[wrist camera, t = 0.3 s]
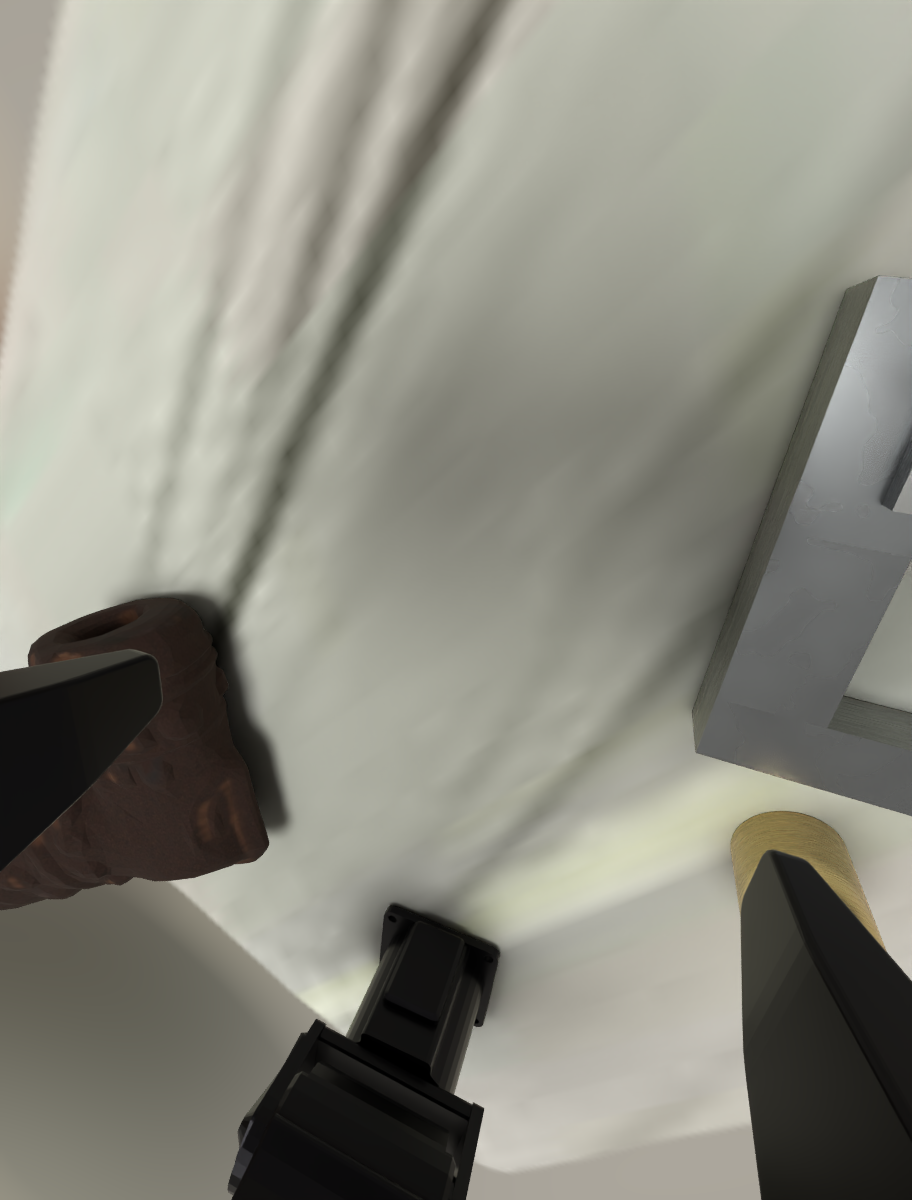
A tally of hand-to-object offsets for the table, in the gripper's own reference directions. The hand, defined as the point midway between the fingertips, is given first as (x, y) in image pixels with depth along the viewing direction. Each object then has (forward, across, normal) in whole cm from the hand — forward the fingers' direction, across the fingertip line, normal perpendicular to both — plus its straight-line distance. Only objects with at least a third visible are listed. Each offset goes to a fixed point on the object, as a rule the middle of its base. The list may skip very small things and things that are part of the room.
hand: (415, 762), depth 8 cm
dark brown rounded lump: (+14, +20, +16) cm, 29 cm away
